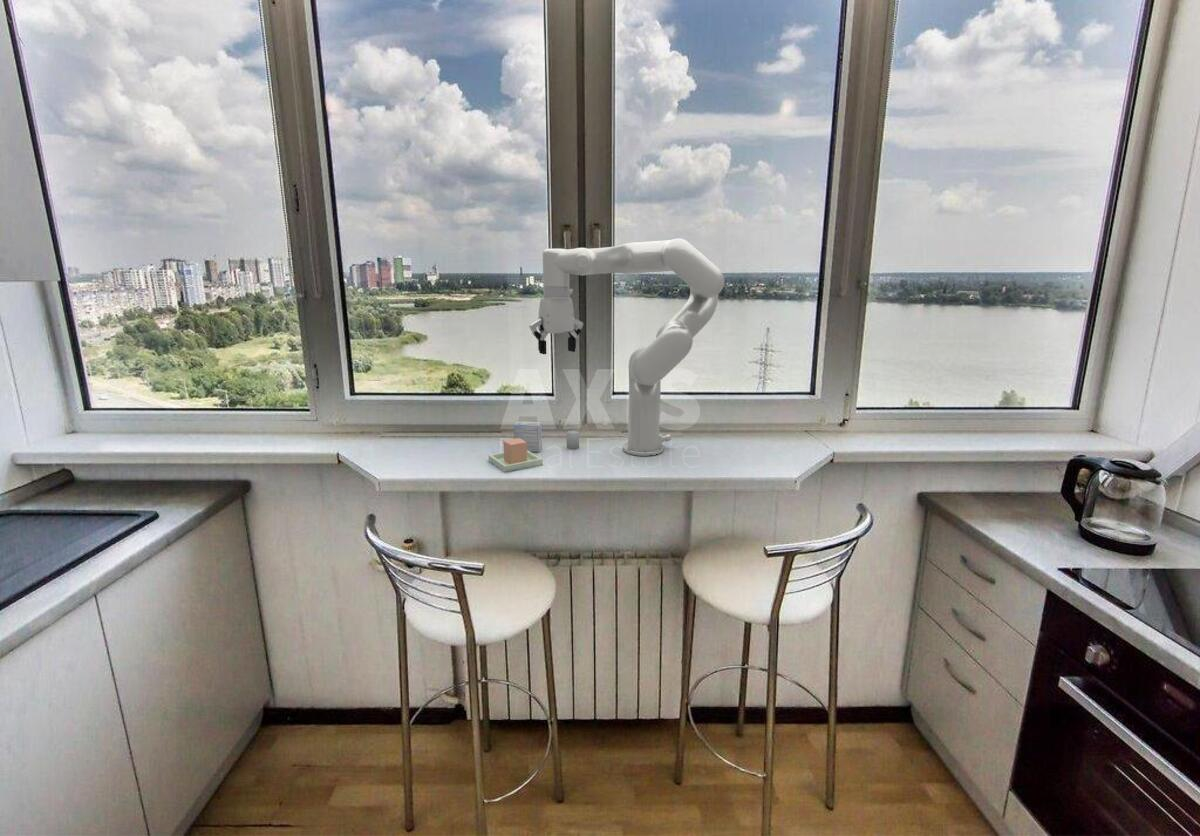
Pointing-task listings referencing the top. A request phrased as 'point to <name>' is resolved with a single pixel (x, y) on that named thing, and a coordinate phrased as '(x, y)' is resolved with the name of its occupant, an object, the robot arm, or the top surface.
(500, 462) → the tray
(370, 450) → the top surface
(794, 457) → the top surface
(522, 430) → the medicine box
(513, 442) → the terracotta block
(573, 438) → the grey tub
